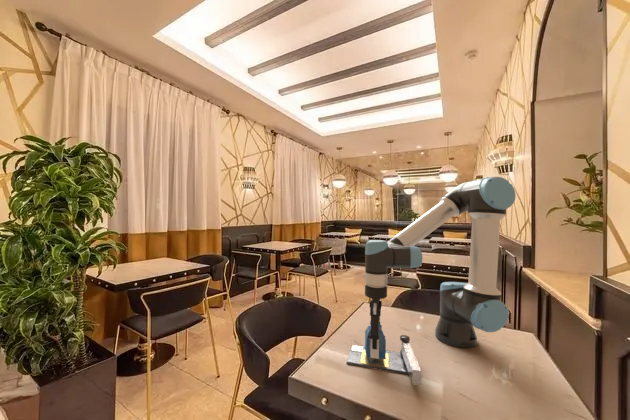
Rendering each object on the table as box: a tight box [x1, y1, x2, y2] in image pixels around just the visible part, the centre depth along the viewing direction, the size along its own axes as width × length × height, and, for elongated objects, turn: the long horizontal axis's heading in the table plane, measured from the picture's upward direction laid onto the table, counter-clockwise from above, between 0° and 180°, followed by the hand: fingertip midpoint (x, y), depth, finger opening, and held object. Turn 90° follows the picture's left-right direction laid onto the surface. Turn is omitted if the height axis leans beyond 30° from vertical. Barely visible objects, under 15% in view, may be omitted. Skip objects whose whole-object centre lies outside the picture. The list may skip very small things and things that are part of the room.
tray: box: [346, 344, 409, 376], centre depth 90 cm, size 22×12×2 cm, turn 74°
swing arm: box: [399, 334, 422, 386], centre depth 84 cm, size 20×3×5 cm, turn 171°
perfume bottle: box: [364, 318, 387, 359], centre depth 90 cm, size 6×6×12 cm
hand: (375, 351), depth 90 cm, fingers closed on perfume bottle, 7 cm apart
